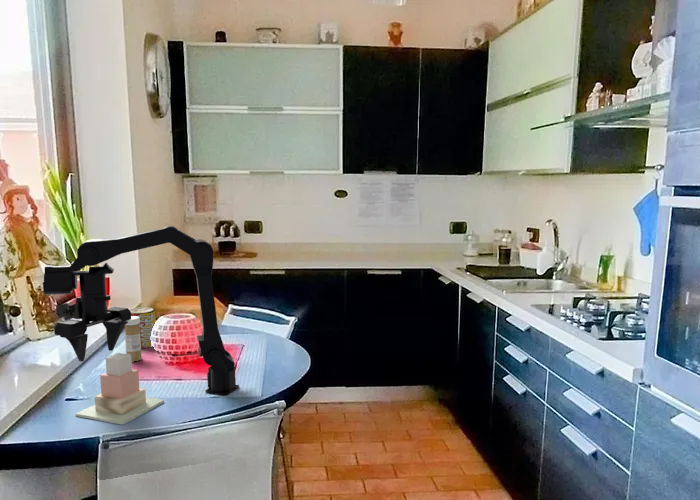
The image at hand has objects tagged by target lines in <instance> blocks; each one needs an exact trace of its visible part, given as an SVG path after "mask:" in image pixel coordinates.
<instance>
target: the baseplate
mask: <svg viewBox="0 0 700 500" xmlns="http://www.w3.org/2000/svg"><path fill="white" fill-rule="evenodd" d="M164 403H165V399H160V398H155V397H150V396H149V397H148V396H146V403H145V404H143V405H141V406H139V407H137V408H135V409H133V410H131V411H129V412H127V413H126V414H124V415H118V414H112V413H106V412H101V411H96V410H95V404H93V405H90V406H88V407H87V408H84V409H82V410H80V411H79V412H76V413H75V417H79V418H85V419H88V420H89V419H90V420H94V421H100V422H105V423H112V424H115V425H116V424H117V425H121V426H122V425H123V426H124V425H125V424H127V423H129V422H131V421H133V420H134V419H136V418H138V417H140V416H142V415H144V414H145V413H147V412H149V411H151V410H152V409H154V408H157V407H158V406H160V405H162V404H164Z"/></svg>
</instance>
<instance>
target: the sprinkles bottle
mask: <svg viewBox="0 0 700 500" xmlns="http://www.w3.org/2000/svg"><path fill="white" fill-rule="evenodd" d="M127 321H128V323H127V324H126V325H125V327H124V333H125V334H124V340H125V352H126V353H125V354H129V355H131V360H132V363H135V362H134V361H137V362H139V361H138V360H140V361H141V360H142V358H143V357H142V349H141V339H140V318H139V317H138V316H131V319H130V320H127Z"/></svg>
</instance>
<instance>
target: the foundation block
mask: <svg viewBox="0 0 700 500" xmlns="http://www.w3.org/2000/svg"><path fill="white" fill-rule="evenodd" d="M146 397H147V395H146V388H141V387H139V390H138V391H136V392H134V393H132V394H130V395H128V396H126V397H124V398H122V399H120V398H114V397H108V396H102V395H101V393H99V394H97V395H95V396H94V405H95V410H96V411H101V412H106V413H112V414H118V415H124V414H126V413H127V412H129V411H131V410H133V409H135V408H137V407H139V406H141V405H143V404H145V403H146Z"/></svg>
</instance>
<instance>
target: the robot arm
mask: <svg viewBox="0 0 700 500" xmlns="http://www.w3.org/2000/svg"><path fill="white" fill-rule="evenodd" d="M164 244H171V245H173V246H174V247H176V248H178V249H180V250H181V251H183V252H184V253H186V254H187V255H189V258H190V261H191V265H192V268H193V271H194V273H195V276H196V277H195V278H196V285H197V292H198V300H199V307H200V317H201V324H202V332H201V335H200V334H199V335H196V338H197V342H198V348H197V349H198V354H199V357H200V358H202V359H203V362H204V363H205V364H207V365H208V366H209V367H207V373H206V374H207V375H206V376H207V378H206V379H207V389H205V390H204V391H205V393H208V394H215V395H222V396H228V395H229V394H231V393H232V392H234V391H235V390H237V389H239V388H240V385H239V384H236V381H237V379H236V366H235V365H236V364H235V361H234V359H233V357H232V355H231V353H230V352H229V351H227V350H226V348H225V346H224V343H223V340H222V336H221V333H220V329H219V325H218V319H217V310H216V309H217V308H216V302H215V294H214V286H213V277H212V276H213V268H214V258H215V257H214V255H215V254H214V253H215V252H214V248H213V247H212V245H211V244H210V243H209V242H208V241H206V240H204V239H199V238H198V239H196V238H193V237H192V236H190V235H188V234H186V233H185V232H183V231H181V230H179V229H178V228H177V227H175V226H174V225H167V226H165V227H162V228H157V229H154V230H149V231H144V232H140V233H136V234H132V235H126V236H122V237H116V238H113V237H112V238H94V239H93V238H91V239H88V240H85V241H83V242H82V243H81V244H80V245H79V246H78V247H77V251H76V258H75V260H73V261H72V262H71V263H70V265H58V266H57V265H46V266H45V267H44V269H43V270H44V274H43V281H42V290H43V293H44V295H45V296H50V295H51V296H53V295H55V296H57V295H70V294H73V291H74V290H77V289H78V280H79V295H80V296H77V297H76V298H75V304H71V305H69V304H68V303H67V302H64V303H60V304H57V305H56V315H57V317H58V319H63V320H62V321H57V322H56V324H55V325H54V327H53V329H54V335H55V336H59V337H60V338H64V339H66V340H67V341H68V342H69V344H70V345H71V347H72V348H73V349H72V350H73V351H74V353H75V356H76V357H77V359H78V361H79V362H84V361H85V358H86V357H85V356H86V353H87V345H88V338H89V337H88V336H89V334H88V333H86V332H87V330H88V328H89V327H94V326H96V325H99V324H102V325H103V326H104V328H105V331H106V332H105V333H106V342H107V349H108V351H109V352H110V351H111V352H113V351H114V349H115V347H116V344H117V342H118V340H119V338H120V336H121V334H122V333H123V330H124V329H125V325H126V324H127V323H128V321H127V320H130V319H131V311H130V310H129V309H130V308H128V307H117V306H113V307H110V308H109V307H108V301H111V295H110V294H109V295H107V278H106V276H107V275H110V274H113V273H114V272H115V271H114V270H115V269H114V268H112V267H111V266H110V265H109V264H108V262H106V261H109V260H110V259H111V260H112V259H113V258H114V257H117V256H119V255H122V254H125V253H126V254H127V253H129V252H135V251H138V250H143V249H144V250H145V249H147V248H151V247H155V246H160V245H164ZM103 262H104V264H103V265H102V266H99V264H101V263H103ZM96 265H98V266H96ZM85 267H89V268H88V270H82V269H84V268H85ZM78 277H79V279H78Z"/></svg>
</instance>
